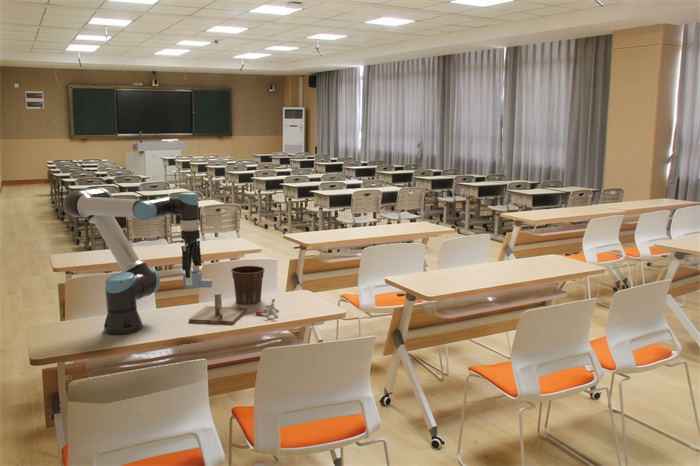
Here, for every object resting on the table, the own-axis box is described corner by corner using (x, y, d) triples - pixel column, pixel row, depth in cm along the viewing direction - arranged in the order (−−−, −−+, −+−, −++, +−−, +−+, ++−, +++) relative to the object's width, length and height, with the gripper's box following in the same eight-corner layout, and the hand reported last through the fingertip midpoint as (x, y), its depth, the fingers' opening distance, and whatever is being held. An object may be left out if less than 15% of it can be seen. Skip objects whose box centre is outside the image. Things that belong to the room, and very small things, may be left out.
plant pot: (266, 296, 301) (265, 265, 298) (264, 305, 285) (263, 272, 282) (234, 296, 299) (233, 265, 297) (230, 306, 284) (228, 273, 281)
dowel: (219, 317, 261) (219, 310, 260) (220, 316, 262) (220, 309, 261) (222, 317, 261) (221, 310, 260) (222, 317, 262) (222, 309, 261)
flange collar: (181, 288, 249) (180, 274, 248) (188, 284, 256) (187, 270, 255) (208, 289, 247) (207, 275, 246) (214, 285, 254) (213, 271, 253)
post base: (188, 322, 259) (187, 299, 257) (205, 309, 279) (204, 287, 277) (232, 324, 256) (231, 301, 255) (246, 310, 276) (246, 289, 274)
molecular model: (258, 328, 264) (279, 320, 264) (252, 313, 262) (273, 305, 262) (259, 315, 278) (279, 308, 278) (253, 301, 276) (274, 294, 276)
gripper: (188, 233, 238) (191, 289, 241) (207, 226, 257) (210, 277, 261) (171, 233, 239) (174, 288, 243) (191, 225, 258) (194, 276, 262)
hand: (192, 282), depth 252 cm, fingers closed on flange collar, 7 cm apart
